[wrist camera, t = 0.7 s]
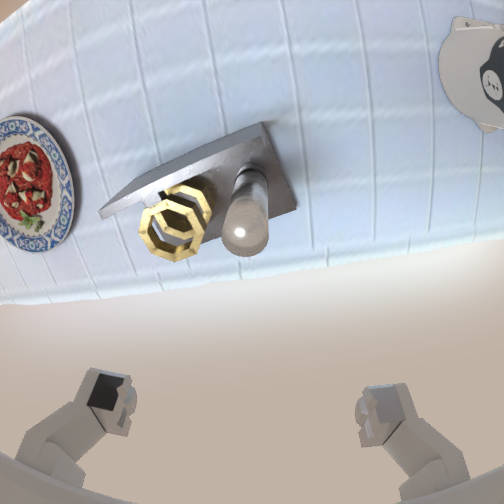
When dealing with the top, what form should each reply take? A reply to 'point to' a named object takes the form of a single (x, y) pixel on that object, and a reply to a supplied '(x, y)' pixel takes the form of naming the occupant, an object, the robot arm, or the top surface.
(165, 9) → the top surface
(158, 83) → the top surface
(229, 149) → the collar stand
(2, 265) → the top surface
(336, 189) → the top surface
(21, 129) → the ceramic plate
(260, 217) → the grey metal rod
